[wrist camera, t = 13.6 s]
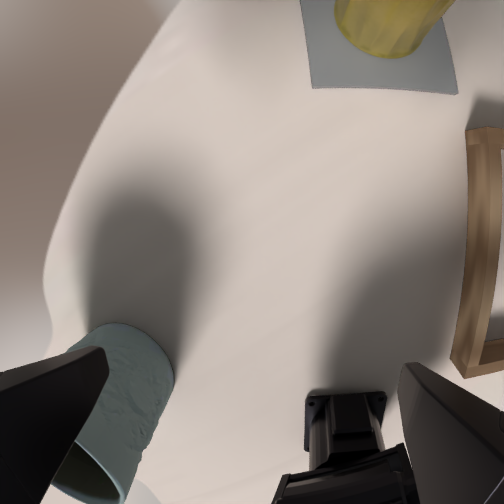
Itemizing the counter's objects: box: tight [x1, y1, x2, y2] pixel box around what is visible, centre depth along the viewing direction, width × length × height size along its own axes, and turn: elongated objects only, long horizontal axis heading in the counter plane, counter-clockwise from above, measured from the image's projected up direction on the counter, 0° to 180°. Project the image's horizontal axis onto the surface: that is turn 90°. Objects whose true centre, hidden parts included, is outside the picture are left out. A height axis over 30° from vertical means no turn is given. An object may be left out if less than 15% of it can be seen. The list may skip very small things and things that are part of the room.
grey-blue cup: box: [51, 323, 174, 504], centre depth 19 cm, size 10×10×12 cm
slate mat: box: [300, 0, 458, 95], centre depth 16 cm, size 10×10×1 cm
